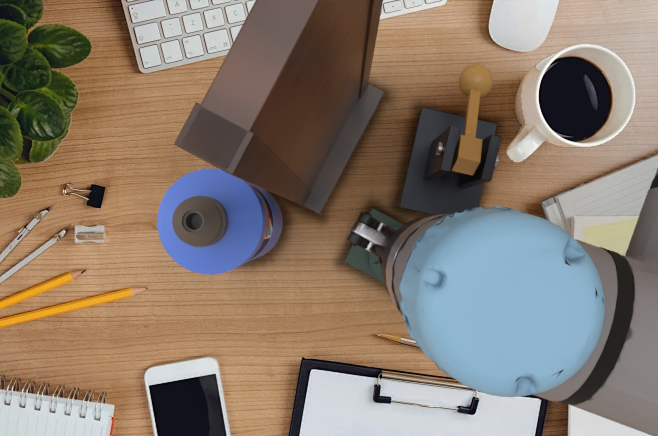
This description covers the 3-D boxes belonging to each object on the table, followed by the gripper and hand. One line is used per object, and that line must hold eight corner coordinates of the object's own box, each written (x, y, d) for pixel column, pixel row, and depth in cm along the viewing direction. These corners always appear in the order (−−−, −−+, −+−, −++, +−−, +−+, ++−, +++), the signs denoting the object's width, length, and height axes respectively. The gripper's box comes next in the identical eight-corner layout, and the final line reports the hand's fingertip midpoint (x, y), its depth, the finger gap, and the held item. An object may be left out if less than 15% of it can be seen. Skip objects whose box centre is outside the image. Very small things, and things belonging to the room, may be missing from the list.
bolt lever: (456, 77, 68) (465, 53, 64) (488, 84, 68) (499, 60, 64) (442, 172, 61) (452, 151, 58) (478, 180, 61) (489, 160, 58)
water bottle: (207, 263, 73) (136, 284, 48) (203, 185, 73) (130, 164, 48) (285, 259, 72) (255, 278, 47) (281, 180, 73) (249, 158, 48)
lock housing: (446, 248, 72) (452, 249, 68) (418, 300, 72) (422, 304, 68) (371, 208, 72) (373, 207, 68) (343, 260, 72) (343, 262, 68)
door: (331, 67, 72) (308, -218, 26) (383, 95, 72) (457, -142, 25) (268, 187, 73) (129, 120, 26) (320, 214, 72) (276, 199, 25)
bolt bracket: (420, 108, 72) (438, 81, 58) (495, 125, 72) (531, 102, 58) (397, 207, 72) (410, 203, 58) (472, 224, 72) (503, 225, 58)
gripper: (564, 269, 38) (479, 251, 62) (381, 171, 39) (366, 191, 62) (508, 374, 38) (444, 316, 62) (325, 276, 39) (331, 255, 62)
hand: (405, 253), depth 62 cm, fingers closed
